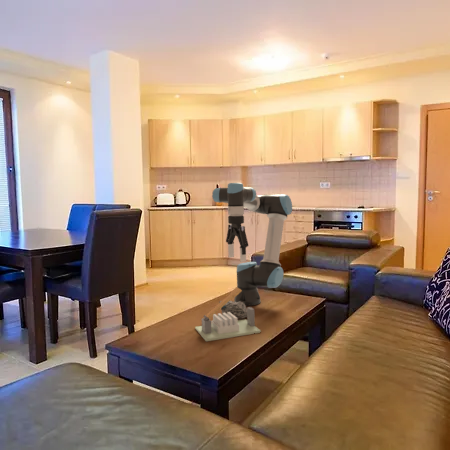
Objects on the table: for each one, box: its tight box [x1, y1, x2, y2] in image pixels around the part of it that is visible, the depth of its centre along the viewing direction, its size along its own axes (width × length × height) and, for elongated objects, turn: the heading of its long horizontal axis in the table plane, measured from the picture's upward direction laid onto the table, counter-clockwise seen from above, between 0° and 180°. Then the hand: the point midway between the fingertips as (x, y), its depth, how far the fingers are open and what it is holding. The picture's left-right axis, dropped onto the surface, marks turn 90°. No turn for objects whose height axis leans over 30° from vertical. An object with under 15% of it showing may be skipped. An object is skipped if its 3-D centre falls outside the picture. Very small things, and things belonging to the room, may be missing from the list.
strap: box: [203, 286, 242, 321], centre depth 177 cm, size 21×5×1 cm
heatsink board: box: [194, 306, 262, 342], centre depth 179 cm, size 17×26×9 cm, turn 110°
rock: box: [218, 300, 247, 320], centre depth 198 cm, size 16×8×10 cm, turn 60°
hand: (237, 259), depth 187 cm, fingers open, 13 cm apart
